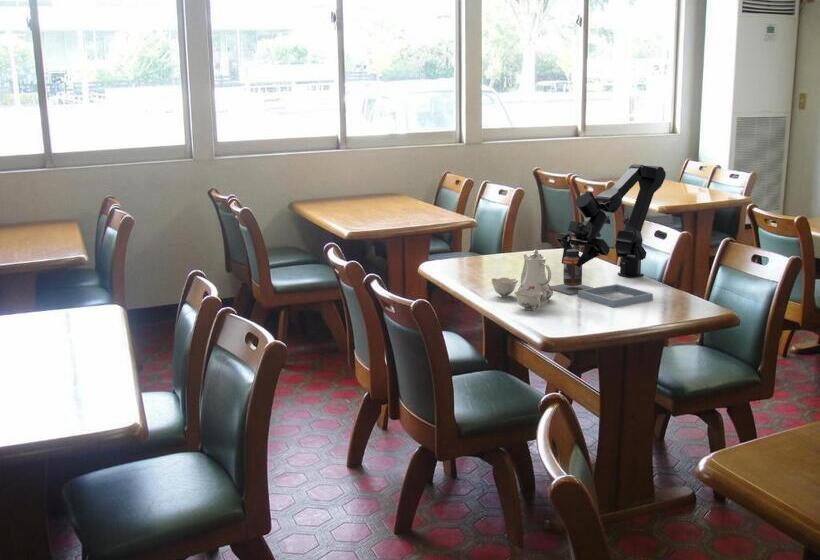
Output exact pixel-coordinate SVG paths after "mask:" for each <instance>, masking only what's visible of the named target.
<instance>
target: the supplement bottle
mask: <svg viewBox="0 0 820 560" xmlns="http://www.w3.org/2000/svg"><path fill="white" fill-rule="evenodd" d="M566 252H567V253H566V254H567V255H566V256H565V257H564V261H563V264H562V265H563V271H562V272H563V273H562V274H563V284H565V285H568V286H577V285H581V284H582V285H583V265H581V266H580V267H577V263H578V261H579V259H580V257H581V255H580V250H579V249H577V248H573V249H568V250H567V251H566Z"/></svg>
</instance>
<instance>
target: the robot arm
mask: <svg viewBox="0 0 820 560" xmlns="http://www.w3.org/2000/svg"><path fill="white" fill-rule="evenodd" d="M666 173H667V172H666V171H665V169H664V167H662V166H658V165H657V166H656V165H644V164H636V163H634V164H631V165H629V167H628V170H627V171H626V172H624V174H623V175H622V176H621V177H620V178H619V179H618V180H617V181H616V182H615V183H614V184H613V185H612V186H611V187H610V188H608V189H606V190H603V191H601V192H600V193H599V194H598V195H596V197H595V195H594V193H593V192H591V191H587V190H586V192H585V193H583V194H580V195H579V196H578V197H576V199H575V201H574V206H575V207H576V209H577V210H578V211H579V213H580V214H581V215H582V217H583V218H585V219H586V220H584V221H583V222H581V221H574V220H569V221H568V222H569V223H568V226H567V229H566V230H567V231H568V232H572V236H573V237H575V238H573V237H571V234H570V233H564V232H560V233H557V235H556V237H555V240H556V241H557V242H558V244H559V246H560V247H561V248H562V249H563V252H562V257H561V264H562V265H563V261H564V257H565V256H566V255H567V254H566V253H567V252H566V251H567V250H568V249H575V246H578V247H581V248H582V247H584V249H583V252H582V254H581V255H580V259H579V261H578V263H577V267H580V266H581V265H582V266H583V265H585V264H586V263H588V262H589V261H591V260H593V259H595V258H598V257H600V256H605V257H607V256H608V254H609V253H610V249H611V248H610V246H609V245H608V243H607V242H606V241H605V239H603V238H601V237H602V236H601V235H602V234H601V233H600V232H601V231H602V229H603V228H604V226H605V224H606V225H611V219H610V215H607V214H606V213H609V214H610V213H611V214H614V213H616V212H617V211H618V209H619V208H620V207H621V205H622V203H623V198H624V197H625V195H627V194H628V192H629V191H630V190H632V188H633V187H634V186H635V185H636V184H637V183H638V186H639V190H638V192H637V193H638V194H637V196H636V199H635V202H634V205H633V207H632V210H631V214H630V217H629V218H628V222H627V225H626V227H625V228H624V229H620V230H618V232H617V236H616V238H615V239H614V241H615V244H614V248H615V251H616V252H615V253H616V257H617V258H621V259H620V267H619V272H617V275H618V276H623V277H626V278H637V277H643V276H644V275H645V273H641V270H642V269H641V267H642V261H644V259H646V257H647V251H646V249H645V248H644V247H643V242H644V241H643V237H642V236H643V235H642V230H643V227H644V223H645V220H646V217H647V215H648V212H649V209H650V206H651V203H652V200H653V197H654V194H655V193H656V192H657V191H658V190H659V189H660V188H661V187H662V185H663V183H664V181H665V179H666V177H667V176H666Z"/></svg>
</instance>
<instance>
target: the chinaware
mask: <svg viewBox="0 0 820 560" xmlns="http://www.w3.org/2000/svg"><path fill="white" fill-rule="evenodd" d="M523 258H524V260H523V261H524V262H523V266H522V270H521V275H520V286H519V287H518V289H517V290H516V291H515V289H516V286H517V283H518V279H517V278H509V277H504V276H503V277H499V278H495V277H494V278H491V281H490V283H491V284H492V286H493V290H494V291H495V292H496V294H498V297H500V298H509V297H510V295H511V294H513V295H515V297H516V300H517V303H518V304H519V305H520V306H521V307H522V310H523V311H532V310H536V309H539V308H540V307H541V304H547V303H549V302H550V301H549V299H550V298H551V297H552V296H553V295H554V290H552V289H551V287H550V286H551V285H550V284H549V283H550V281H551V280H552V270H551V268H550V266H549V265H548V264H547V263H546V260H547V257H545V256H542V254H541V253H539V250H538V249H537V248H535V249H534V251H533V253H531V254H530V255H529V256H528V255H527V254H523ZM545 269H546V270H547V275H546V270H545ZM537 305H538V307H537Z"/></svg>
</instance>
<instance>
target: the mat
mask: <svg viewBox="0 0 820 560" xmlns="http://www.w3.org/2000/svg"><path fill="white" fill-rule="evenodd" d="M550 287H551V289H552V291H553V292H558V293H561V294H563V295H567V296H572V295H573V294H574V295H578V290H584V289H590V288H594V287H591V286H589V285H585V284H583V283H582V284H581V285H577V286H568V285H565V284H564V283H563V284H562V283H561V284H555V285H550Z"/></svg>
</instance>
